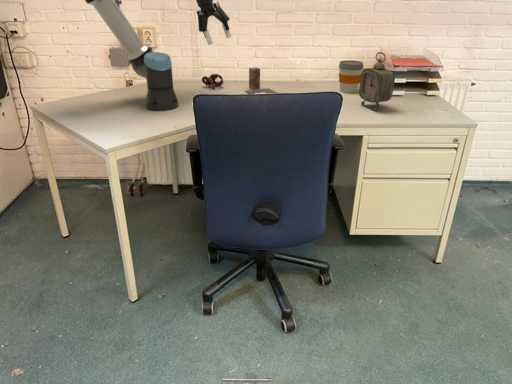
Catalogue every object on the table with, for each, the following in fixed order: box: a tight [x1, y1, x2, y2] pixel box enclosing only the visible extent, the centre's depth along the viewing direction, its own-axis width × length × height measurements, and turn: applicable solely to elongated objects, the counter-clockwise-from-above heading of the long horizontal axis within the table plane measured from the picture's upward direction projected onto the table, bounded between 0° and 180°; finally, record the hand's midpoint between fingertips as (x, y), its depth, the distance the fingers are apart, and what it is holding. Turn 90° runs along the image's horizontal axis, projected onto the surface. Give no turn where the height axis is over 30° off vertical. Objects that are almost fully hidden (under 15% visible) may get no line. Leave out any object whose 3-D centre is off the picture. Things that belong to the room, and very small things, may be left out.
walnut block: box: [248, 67, 261, 90], centre depth 218 cm, size 4×4×11 cm
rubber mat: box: [244, 88, 278, 95], centre depth 213 cm, size 14×11×1 cm
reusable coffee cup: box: [338, 59, 364, 94], centre depth 215 cm, size 12×12×15 cm
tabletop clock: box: [358, 51, 396, 112], centre depth 185 cm, size 14×9×25 cm, turn 21°
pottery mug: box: [201, 73, 224, 90], centre depth 221 cm, size 12×10×8 cm
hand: (219, 41), depth 199 cm, fingers open, 13 cm apart
